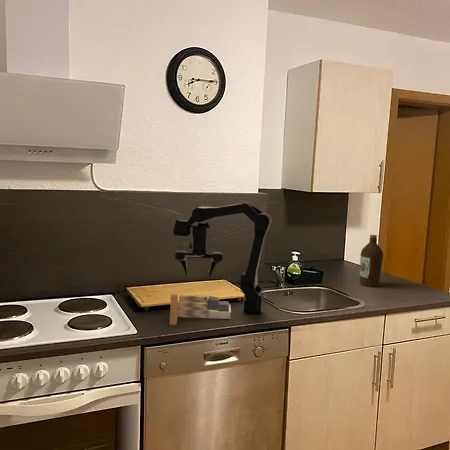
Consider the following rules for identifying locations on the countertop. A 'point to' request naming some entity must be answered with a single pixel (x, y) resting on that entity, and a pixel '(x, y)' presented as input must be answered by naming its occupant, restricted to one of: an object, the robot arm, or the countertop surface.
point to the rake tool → (174, 309)
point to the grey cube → (213, 303)
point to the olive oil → (371, 263)
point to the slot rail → (192, 306)
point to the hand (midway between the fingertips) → (198, 276)
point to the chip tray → (219, 314)
